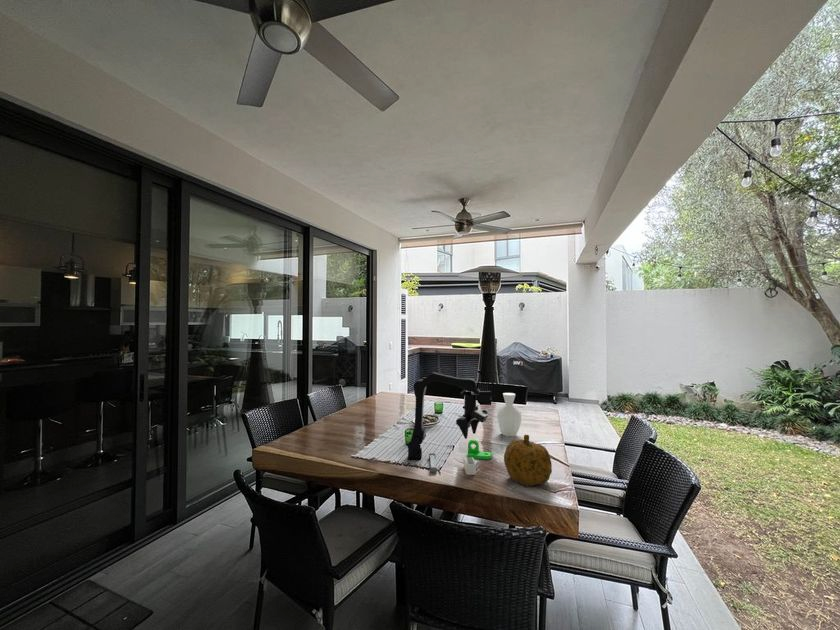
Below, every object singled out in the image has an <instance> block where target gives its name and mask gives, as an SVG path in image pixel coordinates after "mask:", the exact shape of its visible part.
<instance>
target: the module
mask: <svg viewBox="0 0 840 630" xmlns="http://www.w3.org/2000/svg"><path fill="white" fill-rule="evenodd" d="M463 469H464V473H465V475H469V476H470V475H471V476H472V475H473V476H476V475H477V463H476V461H475V459H474V458H472V457H467V456H466V457H465V456H464V457H463Z"/></svg>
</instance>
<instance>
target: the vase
mask: <svg viewBox="0 0 840 630" xmlns="http://www.w3.org/2000/svg"><path fill="white" fill-rule="evenodd" d="M502 396H503V399H504V403H505V405H504V406H502V407H501V408H499V409H498V410H497V414H496V415H497V423H498V428H499V432H500V433H501V435H502V434H503V436H504V435H505V436H504V437H509V436H511V437H516V436H517V434H518V432H519V430H520V427H521V423H522V412H521V411H520V410H519V409H518V408H516V407H515V405H514V401H515V398H516V393H514V392H503V393H502ZM515 435H516V436H515Z"/></svg>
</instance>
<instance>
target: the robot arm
mask: <svg viewBox="0 0 840 630" xmlns="http://www.w3.org/2000/svg"><path fill="white" fill-rule="evenodd" d="M433 382H437V383H443V384H447V385H452V386H455V387H459V388H461V389H462V391H461V392H460V396H464V397H463V398H464V399H463V401H464V405H463V406H462V409H464V410H463V411H464V414H462V417H459V418H457V419H456V421H455V425H457V426H458V427H459V429H460V431H461V433H462V435H463V438H464V439H465V440H467V439H468V434H469V428H471V431H472V434H474V435H475V434H476V432H477V429H478V425H479V423H480V422H481V423H484V422H486V421H487V418H488V417H489V413H488V410H487V409H483V410H480V409H479V407H478V405H477V403H478V404H479V405H480V406H492V393H491V390H485V391H484V390H481V389H480V388H479V386H477V382H476V379H475V378H472V377H455V376H451V375H447V374H442V373H439V372H435V371H433V372H431V373H430V374H429V375H428V376H426V377H424V378H421V379H418V380H417V381H415V382H414V383H413V392H414V397H415V412H414V414H415V415H414V427H413V431H412V434H411V438H410V439H409V441H408V442H407V444H406V446H407V461H421V460H422V456H423V455H422V454H423V452H422V450H423V448H422V447H421V446H422V444H423V442H424V441H425V439H426V437H427V428H424V408H425V407H424V404H425V403H424V401H425V400H424V399H425V395H426V391H427V386H430V384H432V383H433Z"/></svg>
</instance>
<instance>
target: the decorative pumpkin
mask: <svg viewBox="0 0 840 630" xmlns="http://www.w3.org/2000/svg"><path fill="white" fill-rule="evenodd" d="M550 456H551V455H550V453H549V451H548V450H547V448H546V447H545V446H543V445H541V444H537V443H536V442H534V441H531V440H530V435H529V434H524V435H523V439H516V440H512V441H510V443H509V444H508V445H507V446H506V448H505V450H504V454H503V463H504V465H505V468H506V471H507V474H508V476H509V478H511V479H512V480H513V481H514V482H516V483H517V484H523V485H525V486H527V487H533V486H536V485H543V484H546V483H547V482H548V481H549V479H550V477H551V474H552V472H553V471H552V470H553V465H552V460H551V457H550Z"/></svg>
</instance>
